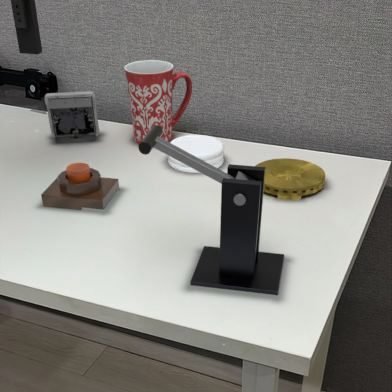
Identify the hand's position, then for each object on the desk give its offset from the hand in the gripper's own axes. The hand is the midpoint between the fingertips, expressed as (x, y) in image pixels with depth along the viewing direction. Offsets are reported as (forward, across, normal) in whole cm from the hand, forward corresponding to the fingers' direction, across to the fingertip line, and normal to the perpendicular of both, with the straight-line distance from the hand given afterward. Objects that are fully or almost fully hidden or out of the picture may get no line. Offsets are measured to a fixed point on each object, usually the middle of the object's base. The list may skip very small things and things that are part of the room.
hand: (31, 52), depth 78 cm
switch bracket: (+21, -17, -33) cm, 43 cm away
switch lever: (+7, -17, -27) cm, 33 cm away
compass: (+21, +12, -37) cm, 44 cm away
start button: (+18, -1, -5) cm, 18 cm away
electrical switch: (+22, +23, +5) cm, 32 cm away
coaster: (+21, +18, -20) cm, 34 cm away
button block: (+21, 0, -5) cm, 22 cm away
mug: (+21, +28, -11) cm, 36 cm away
